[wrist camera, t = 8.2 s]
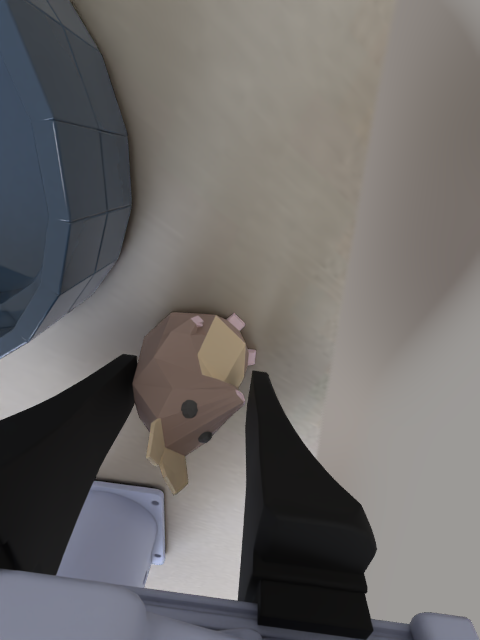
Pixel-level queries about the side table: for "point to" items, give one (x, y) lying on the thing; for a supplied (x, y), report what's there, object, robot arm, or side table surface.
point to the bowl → (55, 168)
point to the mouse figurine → (188, 386)
